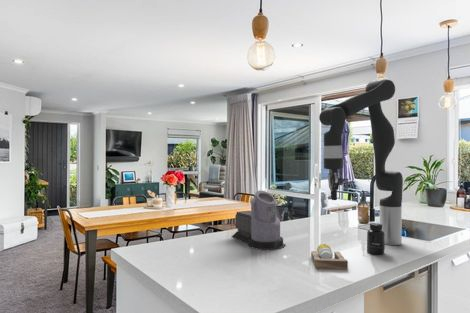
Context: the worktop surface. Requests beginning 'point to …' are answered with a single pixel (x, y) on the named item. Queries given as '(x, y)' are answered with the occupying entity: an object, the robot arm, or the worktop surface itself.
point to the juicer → (260, 223)
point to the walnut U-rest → (329, 261)
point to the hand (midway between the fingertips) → (333, 199)
